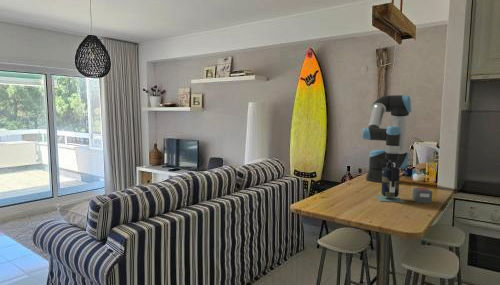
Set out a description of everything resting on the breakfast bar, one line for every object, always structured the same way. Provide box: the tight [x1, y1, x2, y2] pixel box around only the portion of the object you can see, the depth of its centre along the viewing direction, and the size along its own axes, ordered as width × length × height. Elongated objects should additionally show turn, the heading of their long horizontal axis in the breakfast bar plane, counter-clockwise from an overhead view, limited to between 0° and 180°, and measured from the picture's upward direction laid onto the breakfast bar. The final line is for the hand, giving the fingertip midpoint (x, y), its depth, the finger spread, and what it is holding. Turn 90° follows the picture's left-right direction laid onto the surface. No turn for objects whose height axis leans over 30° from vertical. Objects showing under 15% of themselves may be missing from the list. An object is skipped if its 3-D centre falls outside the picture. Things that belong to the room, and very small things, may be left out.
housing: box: [411, 187, 433, 204], centre depth 198 cm, size 8×8×7 cm
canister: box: [380, 167, 401, 197], centre depth 200 cm, size 10×10×18 cm
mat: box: [375, 194, 405, 203], centre depth 201 cm, size 12×13×1 cm
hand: (389, 190), depth 201 cm, fingers closed on canister, 9 cm apart
